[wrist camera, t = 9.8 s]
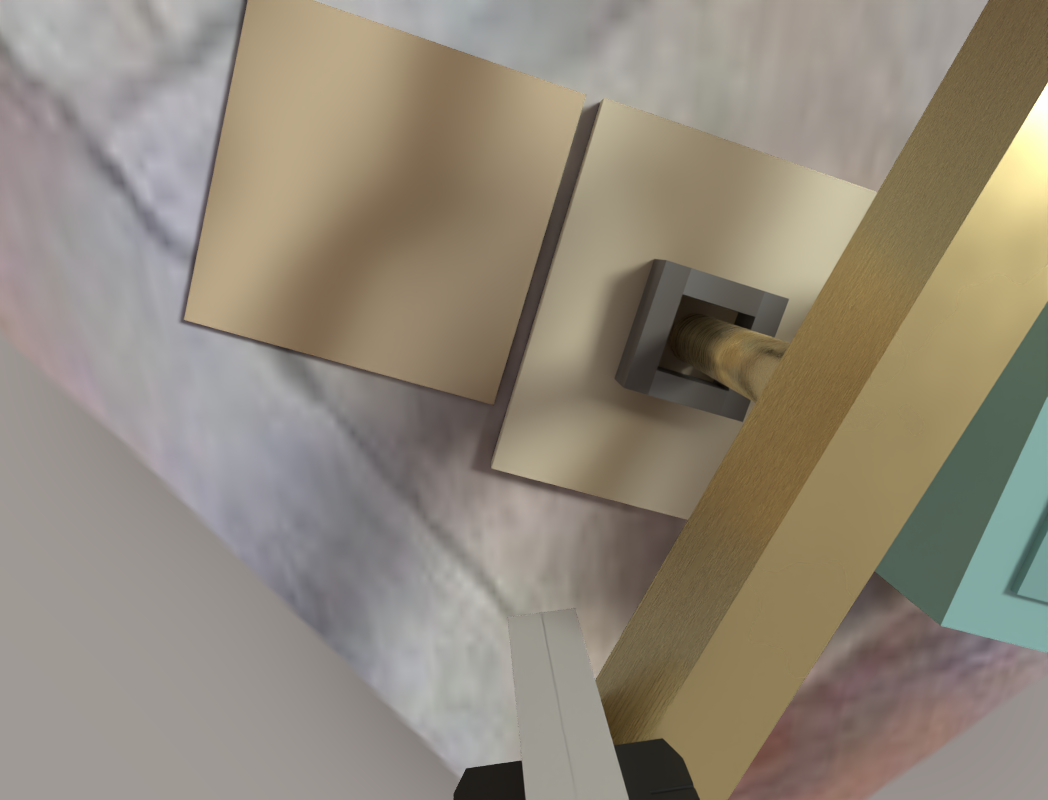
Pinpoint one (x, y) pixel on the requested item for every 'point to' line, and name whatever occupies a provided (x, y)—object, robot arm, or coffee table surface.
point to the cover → (987, 514)
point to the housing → (663, 305)
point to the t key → (846, 413)
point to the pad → (378, 197)
